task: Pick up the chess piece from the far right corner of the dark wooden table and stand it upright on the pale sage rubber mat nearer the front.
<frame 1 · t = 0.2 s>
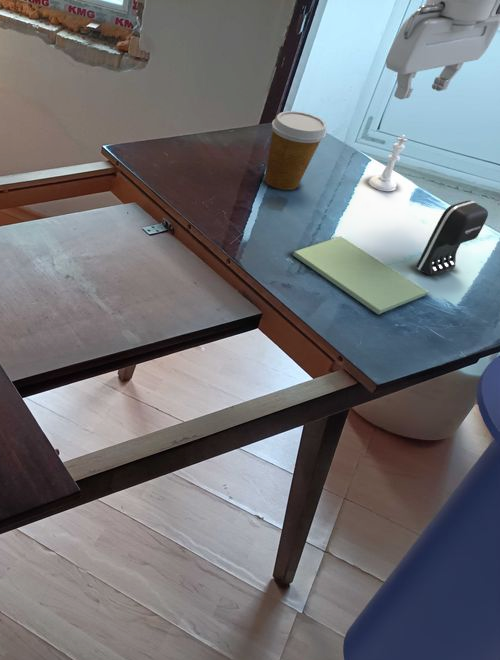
hand: (419, 93, 110), 21 cm above the table, tool pointing down, fingers open, 8 cm apart
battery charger: (436, 270, 110), on the table
disposable coffee cup: (280, 183, 130), on the table
chess piece: (381, 186, 132), on the table
mat: (357, 274, 108), on the table
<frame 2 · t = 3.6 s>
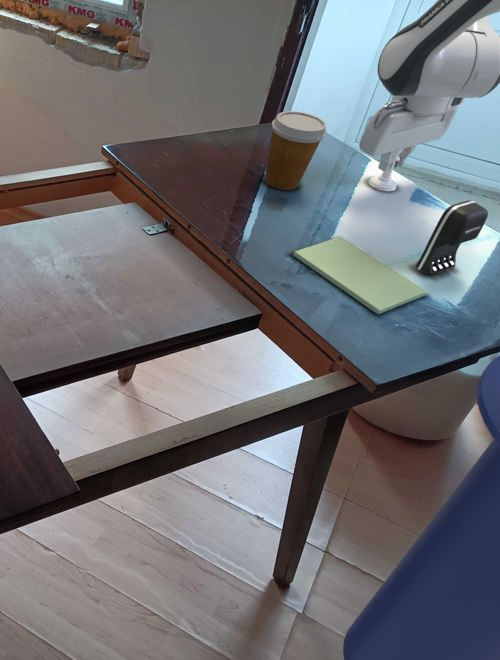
hand: (389, 167, 129), 4 cm above the table, tool pointing down, fingers closed on chess piece
chess piece: (381, 186, 132), on the table, touching gripper
everything else where it was.
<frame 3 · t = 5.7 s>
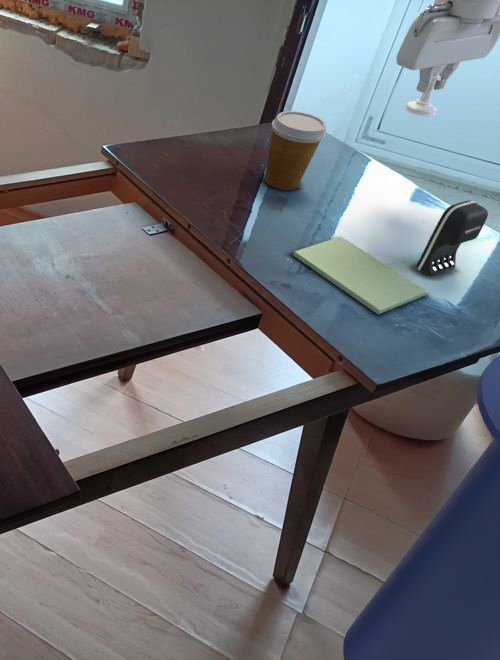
hand: (429, 89, 115), 20 cm above the table, tool pointing down, fingers closed on chess piece
chess piece: (419, 112, 117), point 16 cm above the table, touching gripper
everything else where it was.
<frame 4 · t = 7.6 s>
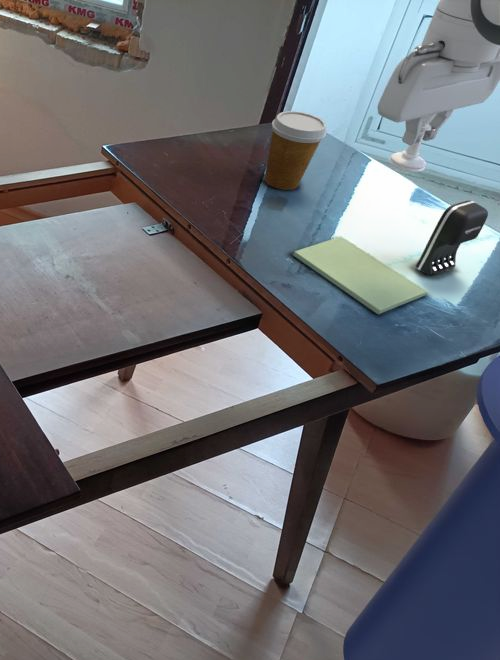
hand: (417, 140, 97), 21 cm above the table, tool pointing down, fingers closed on chess piece
chess piece: (405, 165, 99), point 17 cm above the table, touching gripper
everything else where it was.
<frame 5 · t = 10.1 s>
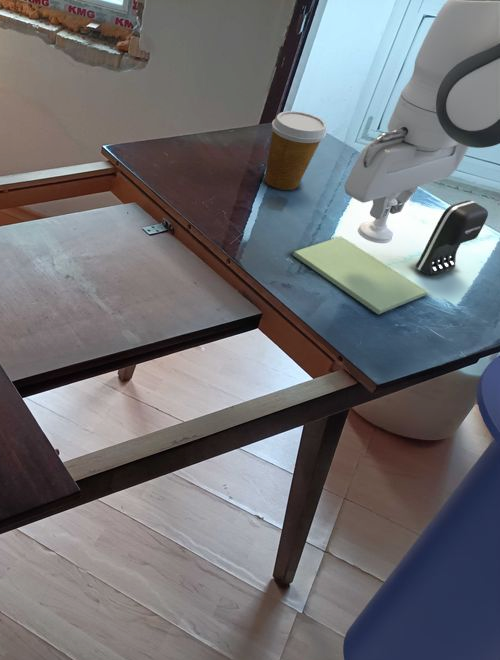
hand: (384, 213, 100), 11 cm above the table, tool pointing down, fingers closed on chess piece
chess piece: (373, 235, 103), point 7 cm above the table, touching gripper
everything else where it was.
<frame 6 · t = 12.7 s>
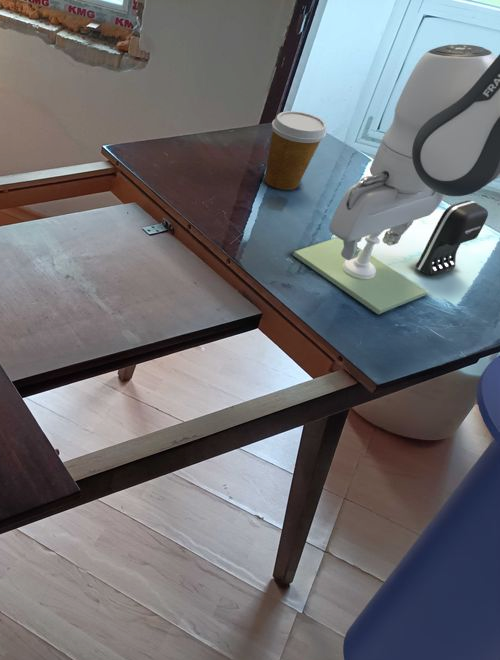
hand: (368, 250, 105), 5 cm above the table, tool pointing down, fingers open, 8 cm apart
chess piece: (357, 271, 107), point 1 cm above the table, touching mat
everything else where it was.
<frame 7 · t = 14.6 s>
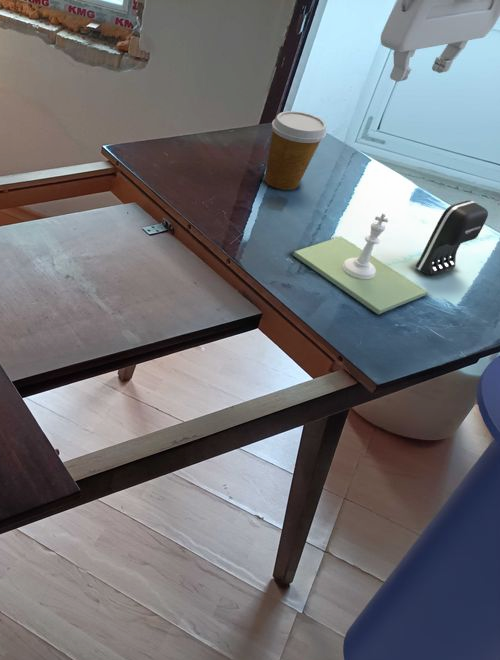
hand: (418, 75, 97), 27 cm above the table, tool pointing down, fingers open, 8 cm apart
nothing on the table moved.
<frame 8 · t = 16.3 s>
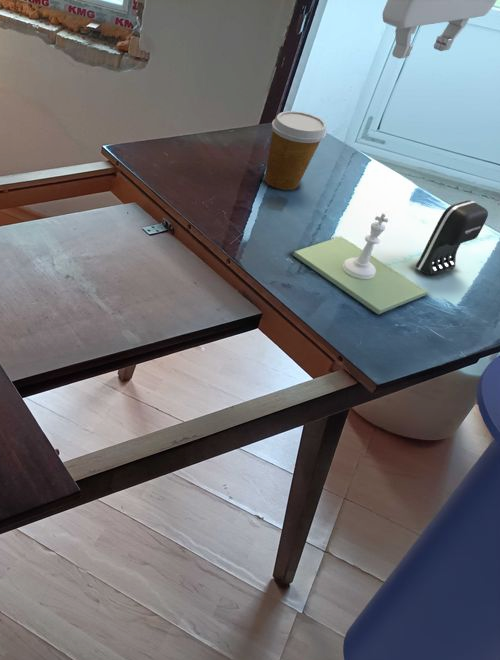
hand: (420, 53, 100), 29 cm above the table, tool pointing down, fingers open, 8 cm apart
nothing on the table moved.
at the end: chess piece inside the target area on the mat (0.1 cm from its centre), point 0.6 cm above the mat's base; chess piece tilted 0°; the gripper is holding nothing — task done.
